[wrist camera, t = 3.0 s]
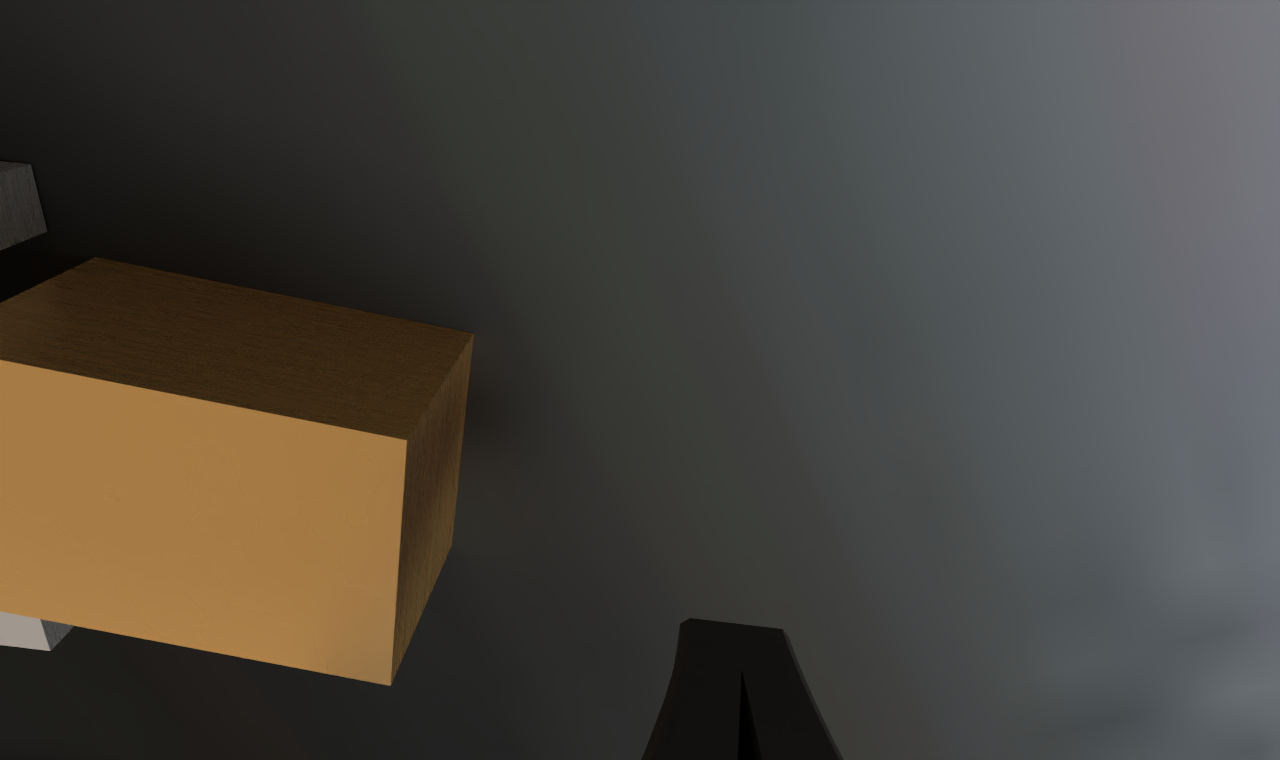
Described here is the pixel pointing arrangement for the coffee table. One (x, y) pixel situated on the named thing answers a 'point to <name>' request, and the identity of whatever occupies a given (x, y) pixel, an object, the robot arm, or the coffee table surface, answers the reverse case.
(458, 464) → the block
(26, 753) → the coffee table surface
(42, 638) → the coupler channel
